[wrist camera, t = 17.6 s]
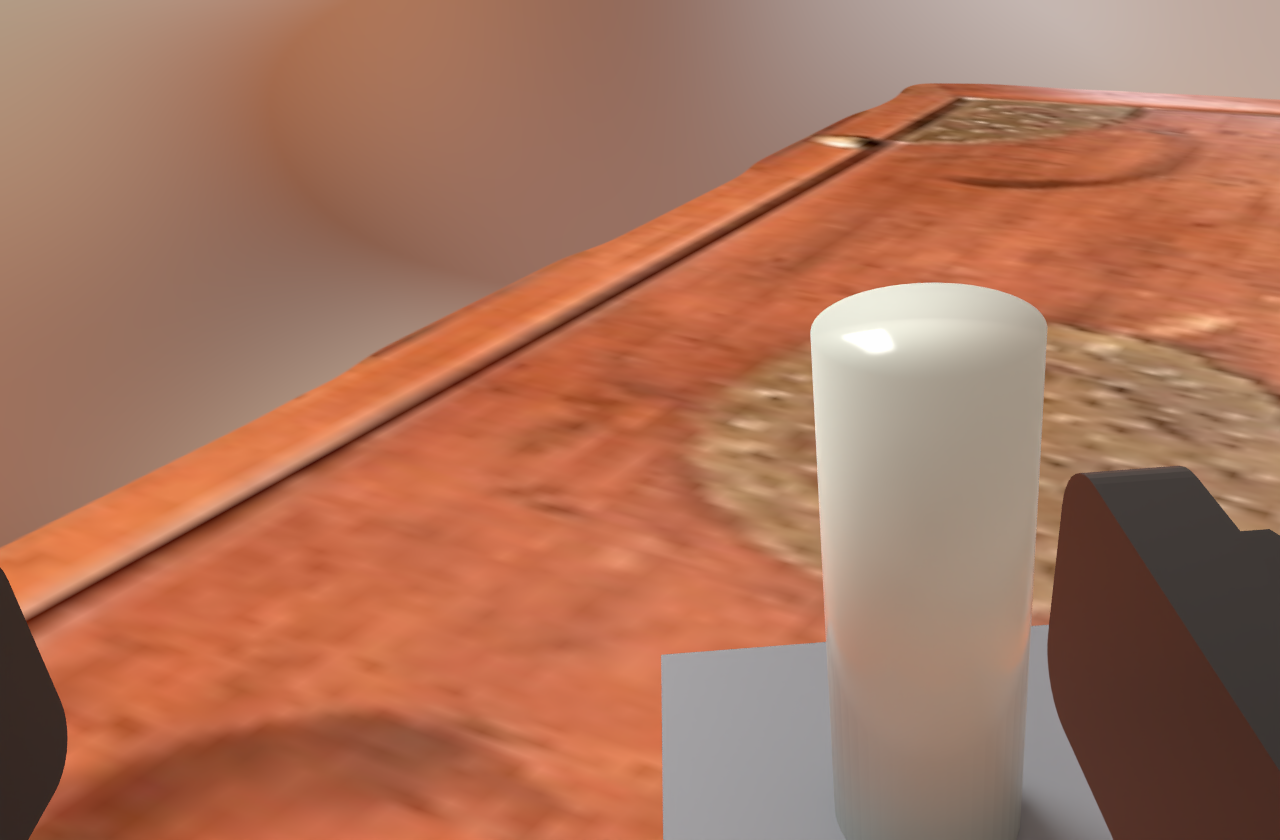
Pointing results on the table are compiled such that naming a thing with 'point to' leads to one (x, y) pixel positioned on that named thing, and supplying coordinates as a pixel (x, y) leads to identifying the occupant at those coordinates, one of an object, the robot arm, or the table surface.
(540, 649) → the table surface
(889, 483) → the white cylinder
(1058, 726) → the slate plinth
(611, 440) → the table surface
